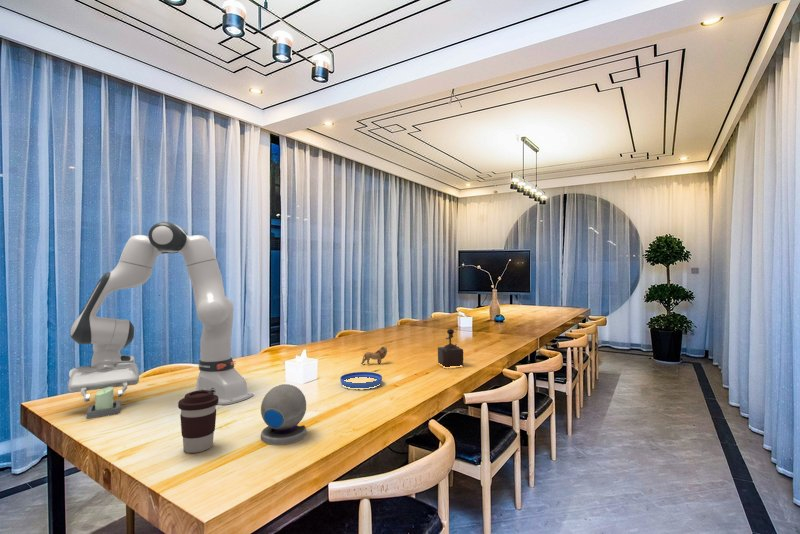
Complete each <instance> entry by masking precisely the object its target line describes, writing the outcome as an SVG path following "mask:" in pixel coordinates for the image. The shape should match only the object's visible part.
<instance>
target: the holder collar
mask: <svg viewBox="0 0 800 534" xmlns="http://www.w3.org/2000/svg"><path fill="white" fill-rule="evenodd" d="M121 403H122V402H121V400H117V401H113V408H109V409H103V410H96V411H95V404H91V405H90V404H89V405H88V408H87V410H86V413H85V415H86V416H85V417H86V420H87V419H88V420H89V419H95V418H102V417H103V418H104V417H107V416H108V415H109V416H115V415H119V414H118V413H121V406H122V404H121ZM114 414H115V415H114Z"/></svg>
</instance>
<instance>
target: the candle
mask: <svg viewBox="0 0 800 534" xmlns="http://www.w3.org/2000/svg"><path fill="white" fill-rule="evenodd" d="M94 397H95V399H94V400H95V401H94V405H95V411H96V410H103V409H109V408H113V402H114V387H107V388H104V389H99V390H98V391H97V392H95V395H94Z"/></svg>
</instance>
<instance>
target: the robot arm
mask: <svg viewBox="0 0 800 534" xmlns="http://www.w3.org/2000/svg"><path fill="white" fill-rule="evenodd" d="M177 253H180V254H181V256H182V257H183V260H184V262H185V266H186V269H187V270H186V271H187V273H188V276H189V279H190V283H191V286H192V293H193V299H194V304H195V309H196V318H197V319H198V320H199V321H200V323H202V331H201V336H200V344H199V345H200V347H199V348H200V351H199V352H200V355H199V356H200V359H199V361H198V370H199V373H198V376H197V378H196V386H195V391H198V390H209V391H212V392H213V394H214V395H217V396H218V397H219V400H218V404H217V405H222V406H223V405H232V404H236V403H239V402H242V401H245V400H247V399H250V398H252V397H253V396H254V392H253V391H251V390H248V385H247V380H246V378H245V377H243V376H242V375H241V374H240V372H238V371H237V369H236V368H235V365H236V362H237V361H236V360H235V361H234V359H233V357H232V334H233V333H232V332H233V322H234V320H233V319H234V304H233V301H232V300H231V299H230V298H229V297H227V296H226V292H225V288H224V282H223V281H224V280H223V276H222V272H221V270H220V267H219V266H220V265H219V263H218V260H217V257H216V256H217V255H216V254H215V251H214V249H213V246H212V244H211V241H209V239H208V238H207V237H205V235H200V234H194V235H188V233H187V232H186V230H184V229H183V228H182V227H180V226H179V225H177V224H175V223H172V222H169V221H160V222H158V223H157V222H156V223H154V224H153V225H152V226H151V227H150V229H149V231H148V235H144V234H137V235H132V236H130V237H129V238H128V240H127V242H126V243H125V245H124V247H123V249H122V252H121V255H120V256H119V257H120V258H119V261H118V263H117V265H116V266H115V268H114V269H112V270H111V271H109V272H106V273H104V274H103V275H102V276H101V278H100V279H99V280H98V282H97V284H96V285H95V287H94V289H93V290H92V292H91V294H90V296H89V297H88V299H87V301H86V303H85V305H84V307H83V308H82V309H81V312H80V313H79V315H78V317H77V318H76V319H75V321H74V322H73V324H72V325H71V329H70V337H71V339H72V340H73V341H74V342H75V343H77V344H79V345H92V351H93V354H92V357H91V362H90V363H91V364H90V365H85V366H76V367H74V368H71V369H70V370H69V372H68V378H69V380H68V384H67V389H68V391H69V393H80V394H81V396H82V397H83V400H84V401H83V402H90V400H91V395H90V393H88V394H87V392H88V391H95V390H96V391H97V390H102V389H104V388H107V387H113V388H119V387H122V388H121V389H120V390H119V389H118V393H117V394H118V398H119V397H124V392H126V390H127V389H128V386H136V385H137V384H138V383H139V382H140V373H139V368H138V364H137V363H136V359H135V356H134V355H125V354H122V353H121V350H123V349H125V348H126V347H128V346H129V345H131V343H132V342H133V340H134V337H135V326H134V324H133V322H132V321H130V320H128V319H121V318H110V317H103V316H97V314H98V312H99V310H100V308H101V306H102V305H103V303H104V301H105V299H106V298H107V296H108V295H110V294H112V293H113V292H116V291H119V290H125V289H134V288H137V287H140V286H142V285H144V284H145V283H147V282H148V280H149V279H151V278H150V277H151V276H152V272H153V269H154V266H155V262H156V259H157V257H158V256H159V255H161V254H177Z"/></svg>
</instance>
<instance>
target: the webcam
mask: <svg viewBox="0 0 800 534" xmlns="http://www.w3.org/2000/svg"><path fill="white" fill-rule="evenodd" d="M306 410H307V400H306V396H305V394H304V392H303V391H302V390H301V389H300V388H298V387H297V386H295V385H292V384H287V383H285V384H279V385H277V386H274V387H272V388H271V389H270V390H269V391H267V393H265V395H264V397H263V399H262V401H261V405H260V415H261V418H262V419H263V421H264V423H265V424H266V425H267V426H266V427H264V428H263V429H262V430H261V432H260V441H262V442H263V443H265V444H268V445H273V446H274V445H275V446H280V445H281V446H283V445H288V444H293V443H296V442H299V441H302V439H304V438H305V437H307V427H306V426H305V425H298V424H300V423H301V421H302V420H303V419H304V416H305V415H306V412H307V411H306Z"/></svg>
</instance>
